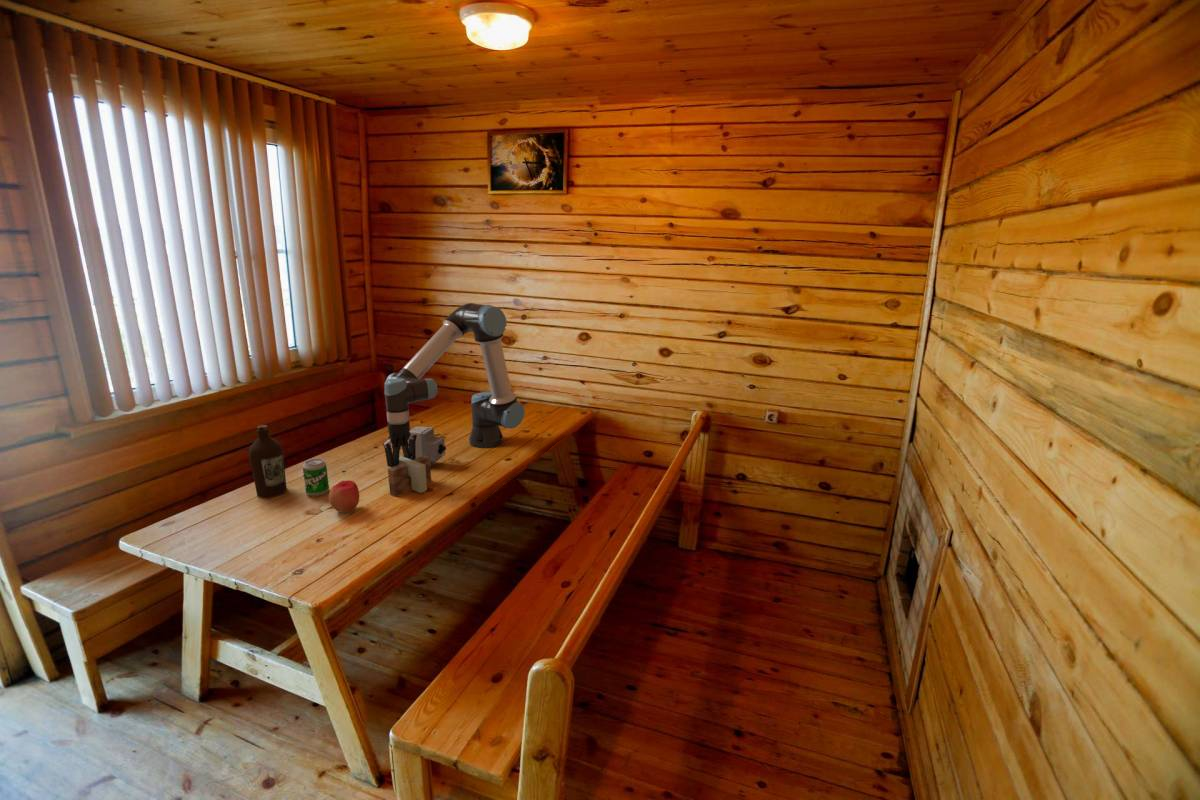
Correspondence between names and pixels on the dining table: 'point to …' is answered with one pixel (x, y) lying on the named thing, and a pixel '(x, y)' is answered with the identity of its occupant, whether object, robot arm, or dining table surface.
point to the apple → (344, 496)
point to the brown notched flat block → (405, 477)
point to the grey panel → (415, 474)
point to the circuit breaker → (428, 444)
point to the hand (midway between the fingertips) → (403, 481)
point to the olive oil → (267, 464)
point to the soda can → (315, 477)
